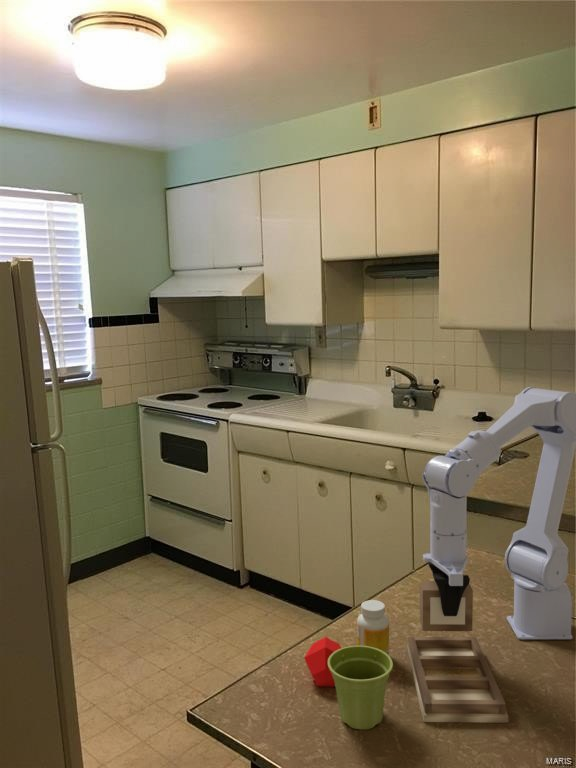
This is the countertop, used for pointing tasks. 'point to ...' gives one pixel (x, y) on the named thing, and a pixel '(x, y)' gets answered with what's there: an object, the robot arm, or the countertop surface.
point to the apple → (321, 661)
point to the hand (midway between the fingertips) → (447, 609)
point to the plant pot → (360, 684)
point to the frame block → (434, 615)
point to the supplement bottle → (373, 626)
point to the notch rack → (454, 681)
